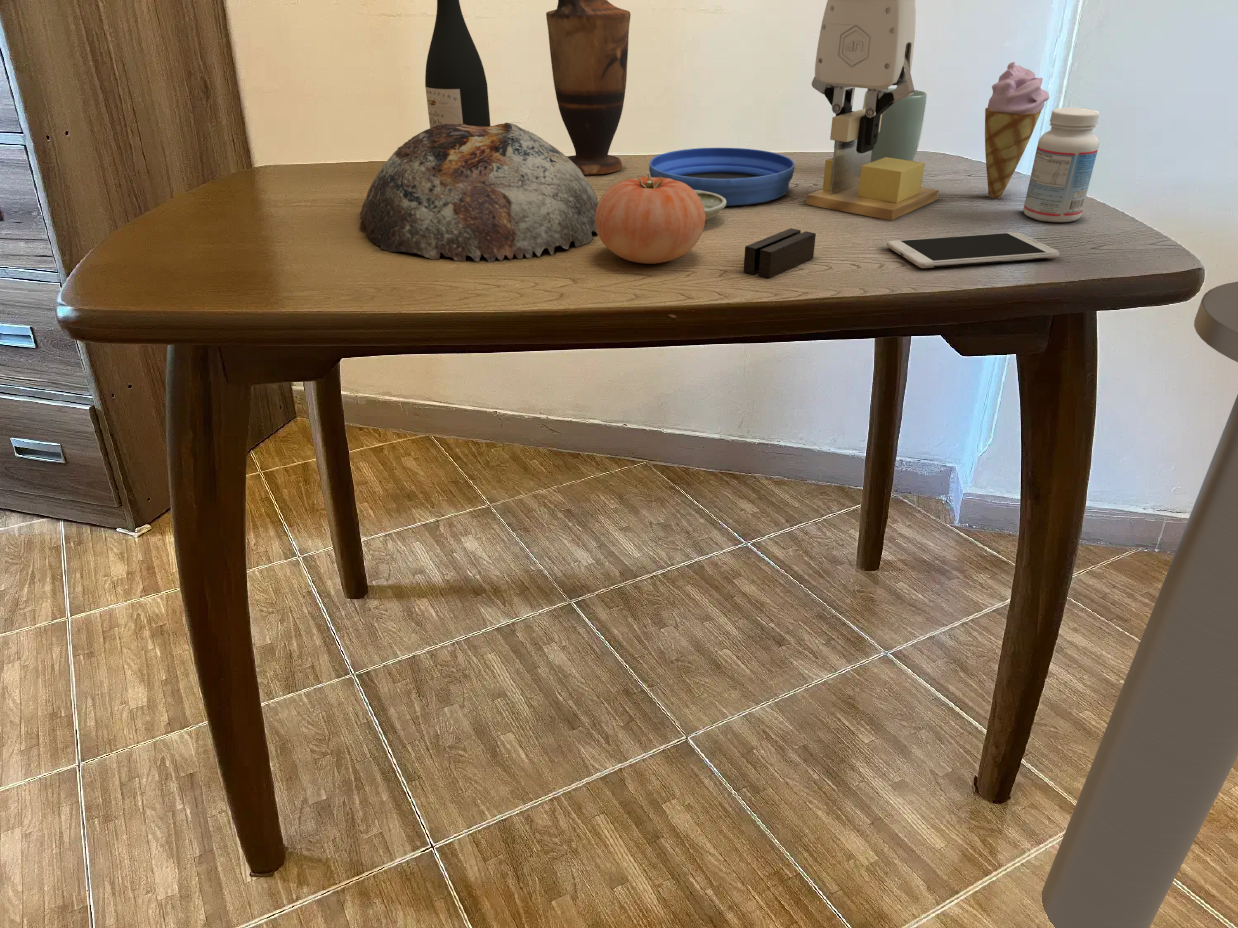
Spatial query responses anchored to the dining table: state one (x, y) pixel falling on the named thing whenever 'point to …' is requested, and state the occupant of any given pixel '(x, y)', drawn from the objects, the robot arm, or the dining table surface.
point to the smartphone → (971, 249)
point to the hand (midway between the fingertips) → (853, 148)
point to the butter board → (870, 202)
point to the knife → (847, 151)
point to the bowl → (728, 172)
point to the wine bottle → (455, 72)
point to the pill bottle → (1063, 166)
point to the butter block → (890, 179)
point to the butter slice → (827, 174)
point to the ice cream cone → (1010, 123)
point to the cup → (900, 128)
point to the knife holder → (779, 252)
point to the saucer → (711, 203)
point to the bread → (478, 195)
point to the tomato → (650, 219)
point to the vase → (590, 76)
